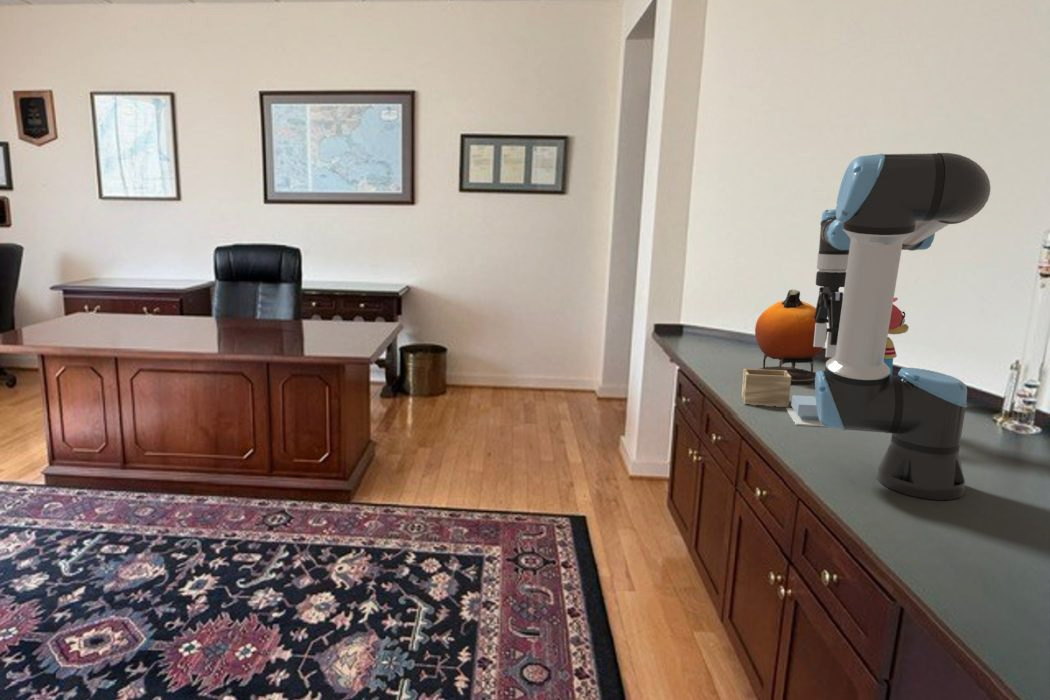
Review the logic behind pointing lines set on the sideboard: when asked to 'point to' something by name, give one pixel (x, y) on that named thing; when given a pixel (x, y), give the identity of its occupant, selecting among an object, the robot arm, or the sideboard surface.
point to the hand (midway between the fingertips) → (825, 351)
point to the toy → (894, 328)
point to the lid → (805, 407)
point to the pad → (800, 421)
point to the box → (766, 387)
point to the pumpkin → (789, 336)
